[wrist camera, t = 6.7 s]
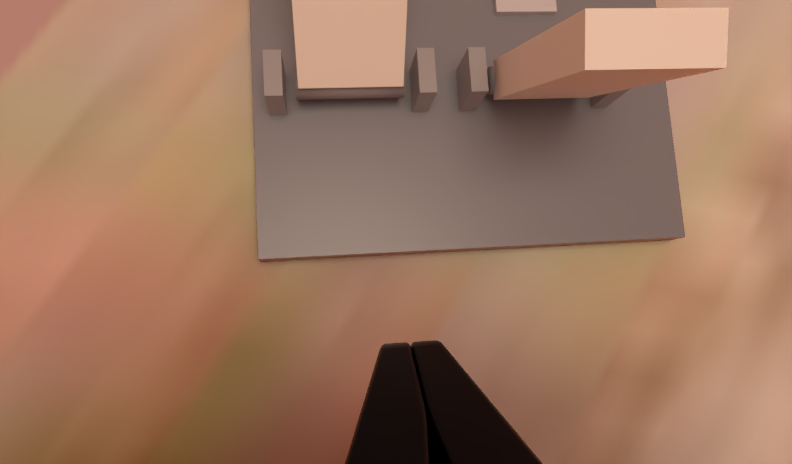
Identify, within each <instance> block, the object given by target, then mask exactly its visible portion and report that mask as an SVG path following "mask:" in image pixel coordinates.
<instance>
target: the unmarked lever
mask: <svg viewBox="0 0 792 464" xmlns="http://www.w3.org/2000/svg"><path fill="white" fill-rule="evenodd" d="M728 15H729V8H585V9H583V10H582V11H580V12H578V13H576V14H574V15H573V16H571V17H569V18H567V19H566V20H564V21H562V22H560V23H558V24H557V25H555V26H553V27H551V28H549V29H548V30H546V31H544V32H542V33H541V34H539V35H537V36H535V37H533V38H532V39H530V40H528V41H526V42H524V43H523V44H521V45H519V46H517V47H515V48H514V49H512V50H510V51H508V52H507V53H505V54H503V55H501V56H499V57H498V58H496V59H494V60H493V66H489V67H488V68H487V77H488V88H489V92H488V93H487V94H488V95H493V96H494V100H506V99H551V98H589V97H594V96H598V95H603V94H608V93H612V92H617V91H621V90H626V89H631V88H635V87H640V86H645V85H649V84H654V83H658V82H663V81H668V80H672V79H677V78H681V77H686V76H691V75H695V74H700V73H705V72H709V71H714V70H718V69H723V68H726V65H727V40H728Z"/></svg>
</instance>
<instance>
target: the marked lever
mask: <svg viewBox="0 0 792 464" xmlns="http://www.w3.org/2000/svg"><path fill="white" fill-rule="evenodd" d="M292 10H293V24H294V37H295V51H296V65H297V70H295V89H296V99H297V100H310V99H356V98H402V97H404V96H405V72H404V64H405V42H406V20H407V0H292Z"/></svg>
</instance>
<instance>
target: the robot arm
mask: <svg viewBox="0 0 792 464" xmlns="http://www.w3.org/2000/svg"><path fill="white" fill-rule="evenodd" d="M345 464H542V463H541V461H540V460H539V459H538V458H537V457H536V455H535V454H534V453H533V452H532V451H531V449H530V448H529V447H528V446H527V445H526V443H525V442H524V441H523V440H522V439H521V437H520V436H519V435H518V434H517V433H516V431H515V430H514V429H513V428H512V427H511V425H510V424H509V423H508V422H507V421H506V420H505V418H504V417H503V416H502V415H501V414H500V412H499V411H498V410H497V409H496V408H495V406H494V405H493V404H492V403H491V402H490V400H489V399H488V398H487V397H486V396H485V394H484V393H483V392H482V391H481V390H480V388H479V387H478V386H477V385H476V384H475V382H474V381H473V380H472V379H471V378H470V376H469V375H468V374H467V373H466V372H465V371H464V369H463V368H462V367H461V366H460V365H459V363H458V362H457V361H456V360H455V359H454V357H453V356H452V355H451V354H450V353H449V351H448V350H447V349H446V348H445V347H444V345H443V344H442V343H441V342H439V341H421V342H414V343H413V344H412V345H411V346H410V345H409V344H408V343H392V344H384V345H382V347H381V348H380V351H379V354H378V357H377V361H376V364H375V367H374V370H373V374H372V377H371V380H370V384H369V387H368V390H367V393H366V397H365V400H364V403H363V406H362V410H361V413H360V416H359V419H358V423H357V426H356V429H355V432H354V436H353V439H352V442H351V445H350V449H349V452H348V455H347V459H346V462H345Z"/></svg>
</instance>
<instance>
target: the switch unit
mask: <svg viewBox="0 0 792 464" xmlns="http://www.w3.org/2000/svg"><path fill="white" fill-rule="evenodd" d="M585 8H656V1H655V0H407V20H406V42H405V64H404V72H405V96H404V97H402V98H356V99H310V100H297V99H296V89H295V70H297V65H296V51H295V37H294V24H293V10H292V0H250V27H251V57H252V87H253V117H254V147H255V177H256V207H257V237H258V259H259V260H260V261H261V262H264V261H283V260H302V259H321V258H340V257H359V256H378V255H397V254H416V253H435V252H454V251H473V250H492V249H511V248H529V247H548V246H567V245H586V244H605V243H624V242H643V241H662V240H673V239H678V238H682V237H685V232H684V224H683V216H682V208H681V200H680V192H679V184H678V176H677V168H676V160H675V153H674V145H673V137H672V129H671V121H670V113H669V105H668V97H667V89H666V81H663V82H658V83H654V84H649V85H645V86H640V87H635V88H631V89H626V90H621V91H617V92H612V93H608V94H603V95H598V96H594V97H589V98H551V99H506V100H494V96H493V95H488V94H487V93H488V92H489V88H488V77H487V68H488V67H489V66H493V60H494V59H496V58H498V57H499V56H501V55H503V54H505V53H507V52H508V51H510V50H512V49H514V48H515V47H517V46H519V45H521V44H523V43H524V42H526V41H528V40H530V39H532V38H533V37H535V36H537V35H539V34H541V33H542V32H544V31H546V30H548V29H549V28H551V27H553V26H555V25H557V24H558V23H560V22H562V21H564V20H566V19H567V18H569V17H571V16H573V15H574V14H576V13H578V12H580V11H582V10H583V9H585Z"/></svg>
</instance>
